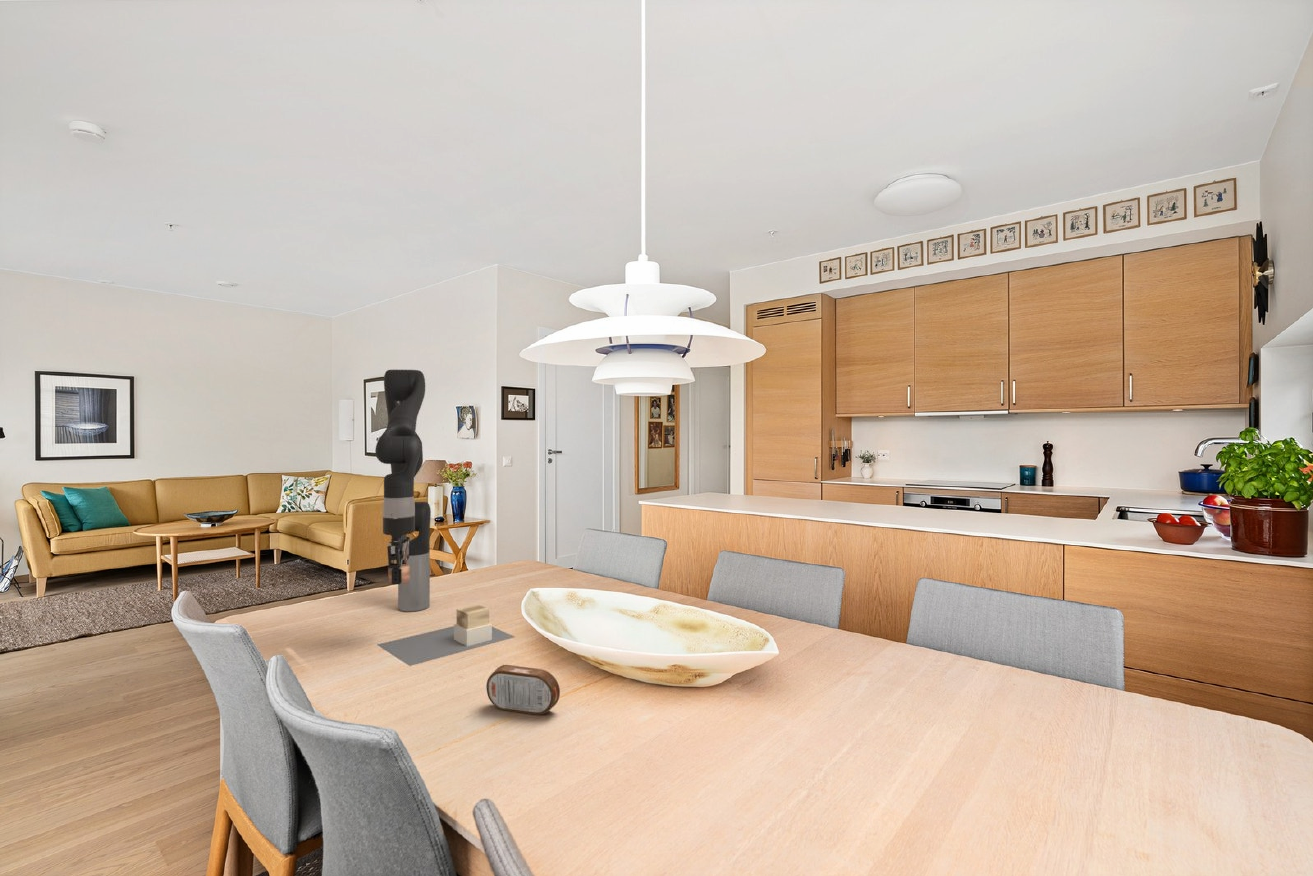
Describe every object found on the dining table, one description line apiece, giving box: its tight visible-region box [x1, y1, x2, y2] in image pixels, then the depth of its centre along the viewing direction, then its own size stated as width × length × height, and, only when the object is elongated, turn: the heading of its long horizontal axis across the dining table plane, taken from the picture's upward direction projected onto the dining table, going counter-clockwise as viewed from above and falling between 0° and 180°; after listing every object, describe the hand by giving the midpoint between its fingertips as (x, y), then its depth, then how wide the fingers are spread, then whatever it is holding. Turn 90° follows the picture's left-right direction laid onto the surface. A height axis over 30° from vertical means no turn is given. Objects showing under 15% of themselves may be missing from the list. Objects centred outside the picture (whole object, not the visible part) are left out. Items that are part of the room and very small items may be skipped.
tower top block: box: [456, 603, 490, 629], centre depth 156 cm, size 6×6×4 cm
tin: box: [486, 664, 561, 716], centre depth 118 cm, size 15×3×8 cm, turn 74°
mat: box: [376, 625, 516, 667], centre depth 155 cm, size 20×28×1 cm
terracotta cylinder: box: [387, 564, 410, 585], centre depth 153 cm, size 5×5×4 cm
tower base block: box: [453, 622, 493, 646], centre depth 156 cm, size 7×7×4 cm
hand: (399, 581), depth 153 cm, fingers closed on terracotta cylinder, 5 cm apart
